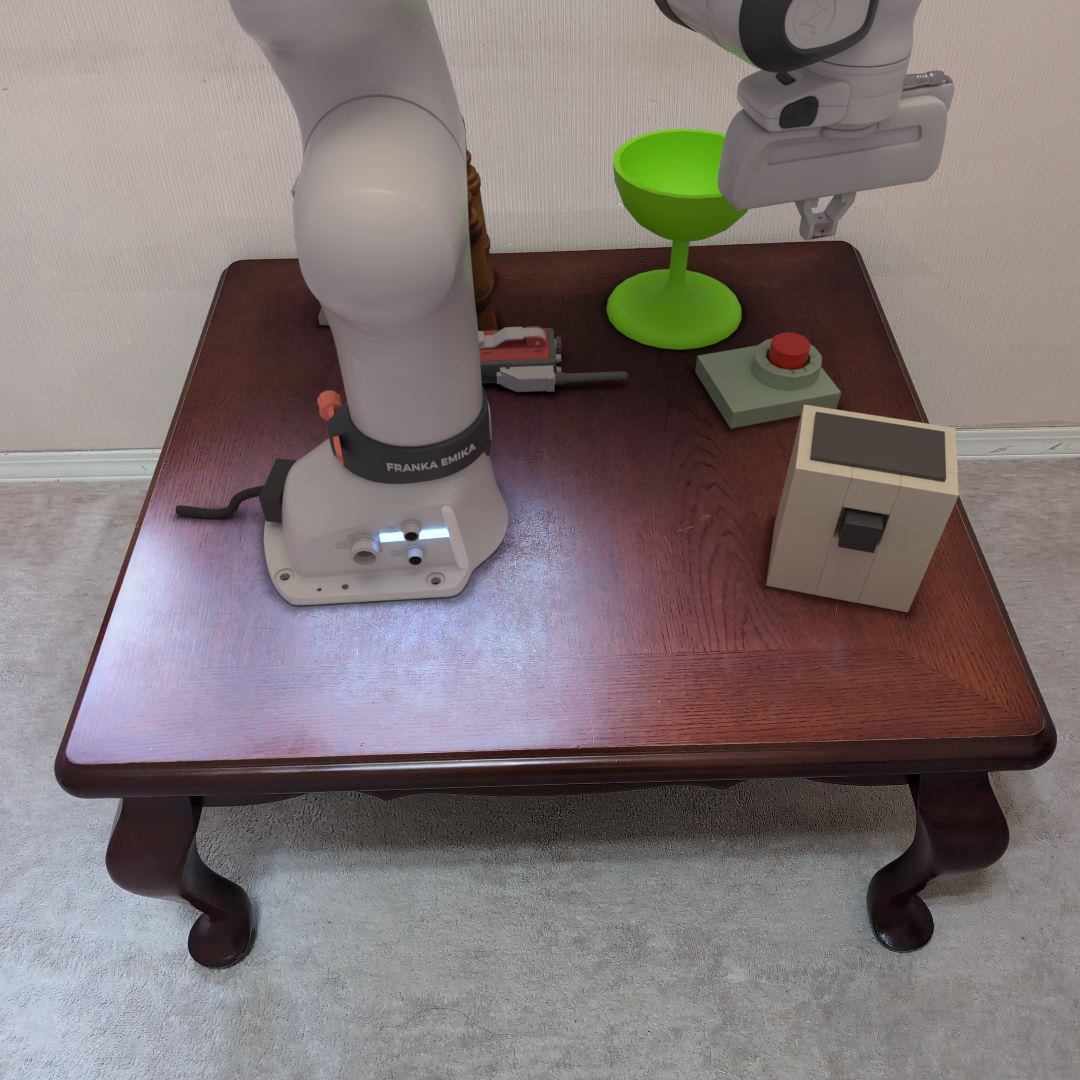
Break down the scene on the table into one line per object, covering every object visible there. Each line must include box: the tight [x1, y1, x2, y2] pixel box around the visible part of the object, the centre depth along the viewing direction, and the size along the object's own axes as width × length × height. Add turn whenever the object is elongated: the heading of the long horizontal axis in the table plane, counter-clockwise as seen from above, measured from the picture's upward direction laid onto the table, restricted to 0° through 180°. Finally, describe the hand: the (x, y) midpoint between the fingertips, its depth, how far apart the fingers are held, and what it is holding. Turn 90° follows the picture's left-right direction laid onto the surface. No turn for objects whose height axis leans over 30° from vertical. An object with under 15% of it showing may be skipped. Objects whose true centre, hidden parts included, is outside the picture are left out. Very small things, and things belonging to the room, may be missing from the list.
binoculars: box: [461, 113, 498, 331], centre depth 106 cm, size 18×8×20 cm, turn 4°
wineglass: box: [605, 127, 749, 351], centre depth 106 cm, size 16×16×18 cm
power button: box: [838, 508, 883, 553], centre depth 75 cm, size 3×2×3 cm
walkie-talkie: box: [478, 325, 629, 393], centre depth 103 cm, size 9×4×20 cm
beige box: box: [765, 405, 960, 613], centre depth 79 cm, size 12×8×14 cm, turn 75°
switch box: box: [694, 338, 842, 429], centre depth 100 cm, size 12×10×4 cm
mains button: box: [768, 331, 812, 370], centre depth 99 cm, size 4×4×2 cm
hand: (816, 235), depth 89 cm, fingers closed
